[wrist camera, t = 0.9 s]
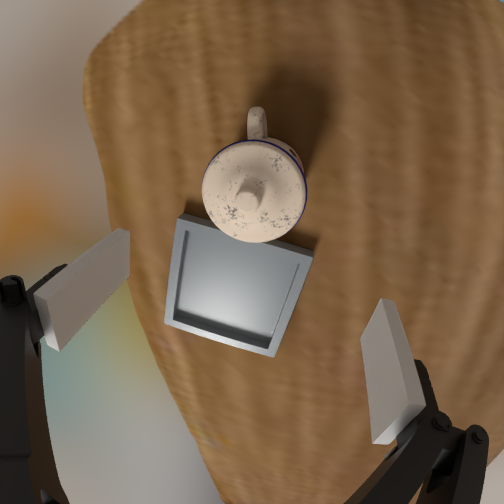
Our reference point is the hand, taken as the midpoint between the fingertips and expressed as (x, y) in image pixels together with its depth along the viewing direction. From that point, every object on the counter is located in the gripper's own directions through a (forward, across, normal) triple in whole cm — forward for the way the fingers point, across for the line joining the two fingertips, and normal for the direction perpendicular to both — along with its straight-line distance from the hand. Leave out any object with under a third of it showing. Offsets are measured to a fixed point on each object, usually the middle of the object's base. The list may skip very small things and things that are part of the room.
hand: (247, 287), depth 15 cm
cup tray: (+21, -3, -14) cm, 25 cm away
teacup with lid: (+21, -2, +2) cm, 22 cm away
